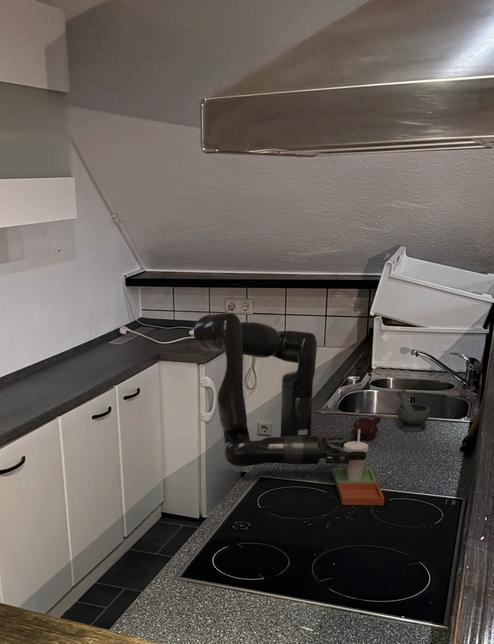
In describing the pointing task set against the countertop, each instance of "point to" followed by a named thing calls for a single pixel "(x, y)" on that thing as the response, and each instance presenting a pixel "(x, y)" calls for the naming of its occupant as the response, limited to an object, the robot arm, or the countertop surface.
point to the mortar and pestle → (411, 413)
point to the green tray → (341, 477)
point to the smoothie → (355, 466)
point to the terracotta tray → (360, 494)
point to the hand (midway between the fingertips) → (363, 450)
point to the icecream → (366, 427)
